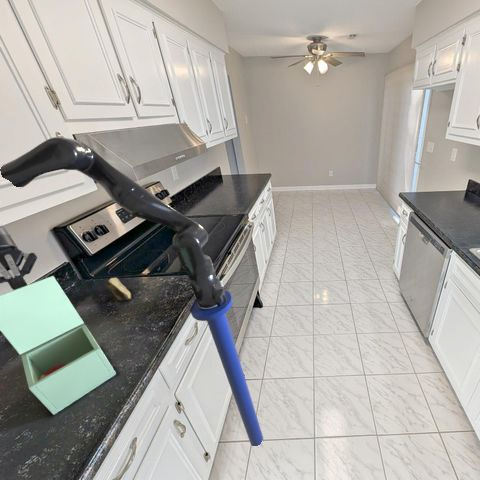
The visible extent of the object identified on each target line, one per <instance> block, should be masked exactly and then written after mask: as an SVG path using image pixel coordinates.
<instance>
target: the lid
mask: <svg viewBox="0 0 480 480" xmlns="http://www.w3.org/2000/svg"><path fill="white" fill-rule="evenodd" d="M83 324H85V322H84V321H83V319H82V318H81V316H80V314H79V312H78V311H77V310H76V309H75V307H74V304H73V303H72V302H71V300H70V299H69V297H68V295H66V293H65V291H64V290H63V289H62V287H61V285H60V284H59V283H58V280H56V277H55V276H54V275H50V276H49V277H46V278H42V279H40V280H37V281H35V282H32V283H29V284H27V285H26V286H24V287H21V288H18V289H15V290H13V289H12V290H9V291H7V292H5V293H2V294H0V332H1V333H2V335H3V336H4V337H5V338H6V340H7V341H8V342H9V344H11V346H12V347H13V348H14V349H15V351H16V352H17V353H18V354H19V355H20V356H21V355H23V354H25V353H27V352H29V351H31V350H33V349H35V348H37V347H39V346H41V345H43V344H45V343H47V342H49V341H51V340H53V339H55V338H57V337H59V336H61V335H63V334H65V333H67V332H69V331H71V330H73V329H75V328H77V327H79V326H81V325H83Z"/></svg>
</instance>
